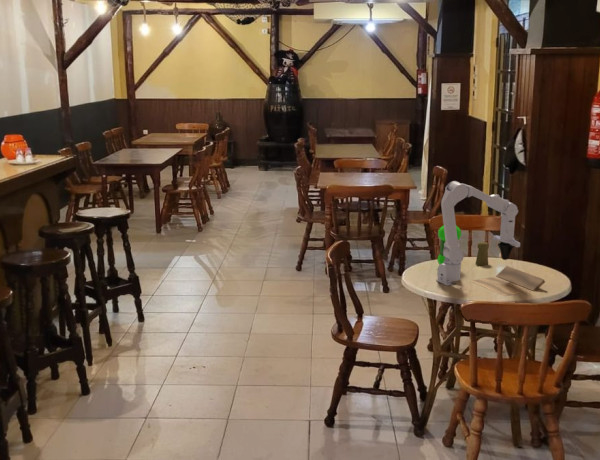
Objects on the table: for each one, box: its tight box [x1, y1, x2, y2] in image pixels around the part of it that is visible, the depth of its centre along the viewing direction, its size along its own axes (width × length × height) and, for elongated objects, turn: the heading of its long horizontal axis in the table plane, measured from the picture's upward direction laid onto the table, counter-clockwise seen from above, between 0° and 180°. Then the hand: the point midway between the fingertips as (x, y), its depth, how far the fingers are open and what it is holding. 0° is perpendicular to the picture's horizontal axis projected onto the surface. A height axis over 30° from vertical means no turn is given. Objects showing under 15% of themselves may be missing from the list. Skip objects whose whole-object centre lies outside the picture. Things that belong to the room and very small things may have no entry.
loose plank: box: [496, 265, 546, 292], centre depth 288 cm, size 7×22×2 cm
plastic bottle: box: [437, 224, 462, 266], centre depth 312 cm, size 10×10×25 cm
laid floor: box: [470, 276, 531, 297], centre depth 284 cm, size 14×22×2 cm, turn 26°
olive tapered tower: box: [475, 241, 490, 267], centre depth 318 cm, size 6×6×11 cm
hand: (505, 259), depth 294 cm, fingers closed
